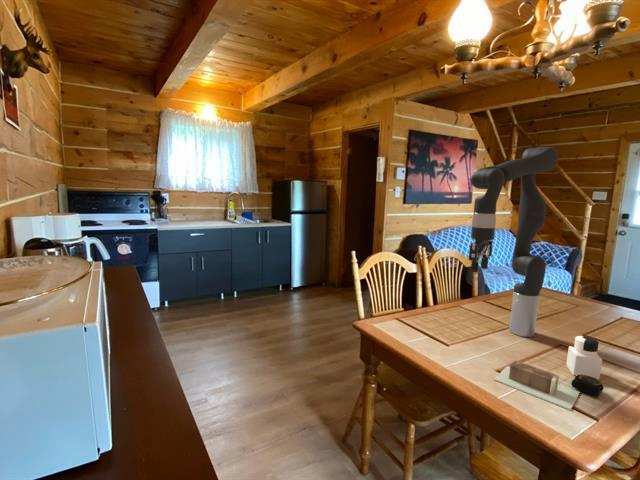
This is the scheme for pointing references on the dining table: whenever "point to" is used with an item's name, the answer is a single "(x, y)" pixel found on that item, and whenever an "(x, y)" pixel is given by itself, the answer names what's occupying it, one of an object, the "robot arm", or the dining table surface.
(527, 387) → the sage mat
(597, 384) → the tape measure
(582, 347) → the medicine bottle
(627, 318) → the dining table surface
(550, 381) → the walnut block
